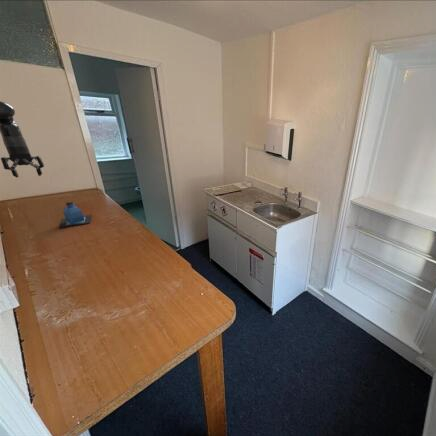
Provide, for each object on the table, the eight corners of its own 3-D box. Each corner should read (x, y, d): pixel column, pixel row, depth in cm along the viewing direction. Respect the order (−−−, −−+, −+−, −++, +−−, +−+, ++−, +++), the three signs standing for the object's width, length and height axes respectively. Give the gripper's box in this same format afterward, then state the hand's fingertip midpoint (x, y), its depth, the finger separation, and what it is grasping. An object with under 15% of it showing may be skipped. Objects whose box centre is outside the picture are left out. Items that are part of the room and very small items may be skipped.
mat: (59, 228, 131) (59, 227, 131) (63, 220, 141) (62, 219, 140) (89, 223, 138) (89, 222, 138) (90, 216, 148) (90, 215, 147)
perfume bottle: (72, 223, 135) (65, 204, 130) (66, 221, 138) (59, 202, 133) (84, 220, 140) (78, 201, 136) (79, 218, 143) (72, 199, 138)
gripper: (37, 144, 125) (48, 173, 131) (-3, 144, 117) (11, 176, 124) (34, 145, 120) (45, 176, 126) (-8, 146, 112) (6, 179, 118)
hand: (28, 176), depth 125 cm, fingers open, 8 cm apart
